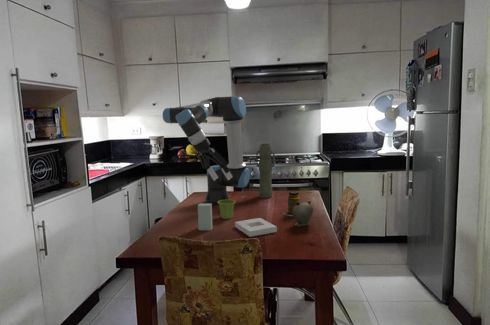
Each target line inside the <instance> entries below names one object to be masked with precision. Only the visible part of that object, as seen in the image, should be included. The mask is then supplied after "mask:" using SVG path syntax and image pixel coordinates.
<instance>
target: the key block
mask: <svg viewBox="0 0 490 325" xmlns="http://www.w3.org/2000/svg"><path fill="white" fill-rule="evenodd" d="M212 206H213V205H212V204H206V203H204V202H201V203H198V204H197V223H198V227H197V228H198V229H197V230H198V231H212V229H213V207H212Z"/></svg>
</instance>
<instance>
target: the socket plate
mask: <svg viewBox="0 0 490 325" xmlns="http://www.w3.org/2000/svg"><path fill="white" fill-rule="evenodd" d="M234 226H235V228H236V229H237V230H239V231H241V232H243V234H245V235H247V236H248V237H251V238H252V237H256V236H261V235H267V234H271V233H277V232H278V227H277V225H274V224H272V223H271V222H269V221H268V220H265V219H263V218H261V217H258V218H251V219H245V220H239V221H235V222H234Z"/></svg>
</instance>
